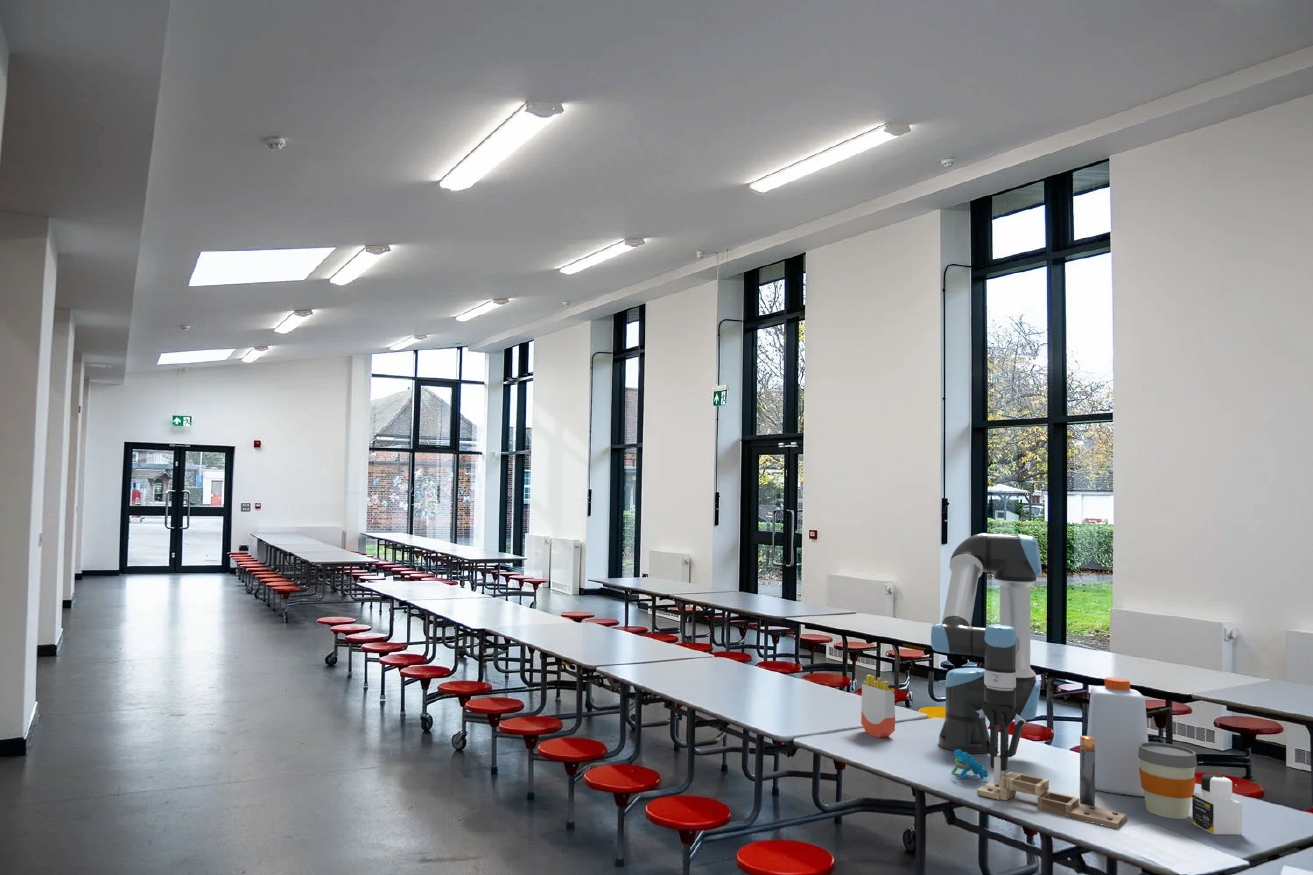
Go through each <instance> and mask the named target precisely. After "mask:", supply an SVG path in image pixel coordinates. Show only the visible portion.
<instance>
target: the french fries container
mask: <svg viewBox="0 0 1313 875" xmlns="http://www.w3.org/2000/svg"><path fill="white" fill-rule="evenodd" d="M895 706H896V705H895V688H892V687H891V688H889V681H887V680H883V681H882V677H876V676H873V675H871V674H866V676H865V680H863V683H861V713H860V714H861V716H860V717H861V718H860V719H861V720H860V721H861V722H860V724H861V725H862V728H863V729H864V731H865V733H866V734H868V735H871V736H874V737H876V738H879V739H880V738H886V737H890V736H891V735H892V734H893V733H894V732H895V731H896V707H895Z"/></svg>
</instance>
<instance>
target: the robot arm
mask: <svg viewBox="0 0 1313 875" xmlns="http://www.w3.org/2000/svg"><path fill="white" fill-rule="evenodd" d="M1038 543H1039V542H1038V540H1037V539H1036V538H1035V537H1034V536H1032V535H1026V534H1025V535H1024V534H1007V533H1004V534H1003V533H986V532H981V533H977V534H974V535H971V536H969V537H968V538H966V539H965V540H962V542H961V543H960V544H959V545H958V546H957V547H956V548H955V550H954V551H953V552H952V554H951V557H950V561H949V570H950V572H951V574H950V580H949V585H948V588H947V593H946V594H947V595H946V599H945V600H946V601H945V605H944V612H943V615H942V620H941V622H940V623H933V625H932V626H931V631H930V644H931V645H930V647H931V648H932V650H933V651H935V652H939V653H946V654H953V655H954V654H955V655H965V656H976V657H984V668H983V667H982V668H981V667H962V668H961V667H960V668H953V669H951V670H949V671H947V673H946V676H945V685H944V687H945V708H944V710H945V714H944V715H945V716H944V717H945V718H944V721H943V724H942V726H941V730H940V732H939V735H938V745H939V746H940V747H942V748H945V749H947V750H950V751H953V752H954V751H955V749H956V750H958V749H960V750H962V752H963V753H964V752H969V753H968V754H985V753H986V752H987V753H986V754H989V756H990V769H993V783H994V784H999V785H1000V777H1002V776H1004V775H1005V774H1004V772H1006V771H1007V770H1008V768H1009V767H1008V766H1009V764H1008V763H1009V761H1008V759H1009V758H1012V757H1013V756H1015V755H1016V754H1017V751H1018V747H1019V742H1020V738H1021V735H1022V732H1023V728H1024V727H1025V725H1026V724H1027V720H1033V719H1035V718H1036V716H1037V712H1038V711H1037V710H1038V706H1039V698H1040V693H1041V692H1040V691H1041V685H1042V681H1041V680H1039V679H1037V674H1036V672H1035V671H1034V669H1032V668H1031V601H1032V600H1031V592H1032V591H1031V588H1032V586H1033V585H1034V584H1035V583H1036V582H1037V577H1040V576H1041V575H1042V561H1041V553H1040V548H1039V547H1040V546H1039V544H1038ZM983 572H984V573H994V577H993V578H994V580H995V581H996V582H997V583H998V585H999V624H988V625H986V627H978V626H977V627H975V626H972V621H973V613H974V608H975V601H976V595H977V588H978V582H979V578H981V576H982V575H983ZM986 719H987V720H988V722H989V729H990V730H989V729H988V726H987V722H986V721H987V720H986ZM1013 721H1014V725H1015V726H1014V729H1013V731H1012V736H1011V738H1010V739H1011V740H1009V737H1010V736H1009V730H1010V725H1011V723H1013ZM999 730H1000V733H999ZM999 734H1000V735H999ZM999 736H1000V740H999ZM1009 741H1010V742H1009ZM999 742H1000V744H999ZM999 745H1000V748H999ZM999 749H1000V751H999Z"/></svg>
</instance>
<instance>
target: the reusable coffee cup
mask: <svg viewBox="0 0 1313 875" xmlns="http://www.w3.org/2000/svg"><path fill="white" fill-rule="evenodd" d="M1138 757H1139V758H1140V765H1141V767H1140V768H1139V771H1140V779H1141V786H1142V788H1143V789H1144V795H1145V796H1144V800H1145V808H1146V810H1147V811H1148V813H1151V814H1153V815H1156V816H1159V817H1163V818H1169V819H1179V820H1183V819H1187V817H1188V818H1189V816H1190V815H1189V814H1190V809H1191V803H1192V802H1191V801H1192V794H1193V793H1195V787H1196V780H1197V777H1196V776H1195V771H1196V768H1197V766H1198V762H1197V753H1196V752H1195V751H1194V750H1192V749H1190V748H1187V747H1184V746H1181V745H1175V744H1171V743H1162V742H1148V743H1141V744H1139V751H1138Z"/></svg>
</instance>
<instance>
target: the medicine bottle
mask: <svg viewBox="0 0 1313 875" xmlns="http://www.w3.org/2000/svg"><path fill="white" fill-rule="evenodd" d="M1200 777H1201V778H1200V784H1201V786H1200V789H1201V790H1200V791H1201V792H1194V793H1193V794H1192V797H1191V801H1192V802H1191V803H1192V804H1191V805H1192V806H1191V807H1192V809H1191V810H1192V812H1191V813H1192V815H1191V816H1192V820H1191V821H1192V824H1193V826H1196V827H1198V828H1200V829H1202V830H1203V831H1206V832H1208V833H1210V834H1212V835H1215V836H1216V835H1220V836H1221V835H1227V836H1229V835H1230V836H1232V835H1233V836H1235V835H1236V836H1241V835H1242V834H1243V812H1242V811H1243V809H1242V808H1243V806H1242V805H1243V804H1242V803H1241V801H1237V800H1235V799H1234V798H1232V797H1233V781H1232V780H1231V779H1230V778H1228V777H1227V776H1224V775H1221V774H1215V773H1206V774H1203V775H1202V776H1200Z"/></svg>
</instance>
